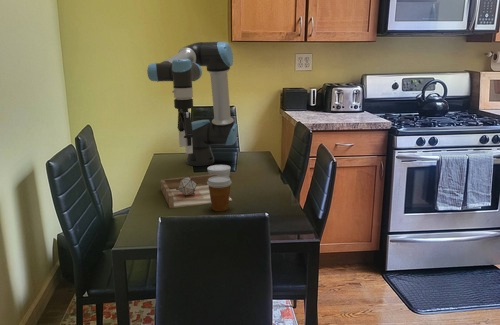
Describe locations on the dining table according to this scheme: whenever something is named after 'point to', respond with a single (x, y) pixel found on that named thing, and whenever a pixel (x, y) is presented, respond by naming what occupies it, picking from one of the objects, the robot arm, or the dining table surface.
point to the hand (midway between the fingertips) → (186, 149)
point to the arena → (179, 200)
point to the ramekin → (219, 170)
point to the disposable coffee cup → (219, 192)
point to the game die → (187, 186)
